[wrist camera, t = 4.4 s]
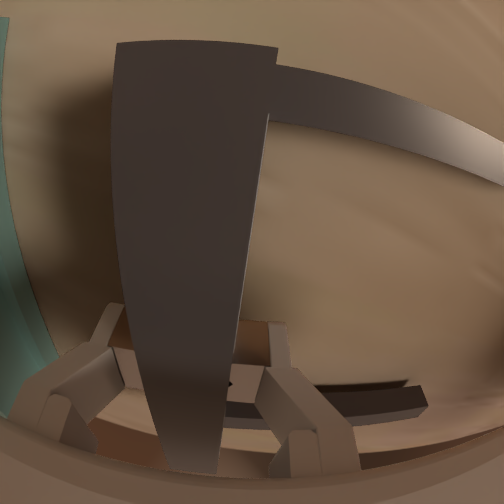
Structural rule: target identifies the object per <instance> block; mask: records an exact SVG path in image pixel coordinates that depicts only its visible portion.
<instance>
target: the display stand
mask: <svg viewBox="0 0 504 504" xmlns="http://www.w3.org/2000/svg"><path fill="white" fill-rule="evenodd" d="M8 23H9V18H6V17H0V416H2V417H4V418H6V419H7V417H8V415H9V413H10V410H11V408H12V406H13V404H14V401H15V399H16V397H17V395H18V393H19V390H20V388H21V386H22V384H23V382H24V380H26V379H27V378H29V377H31V376H32V375H34V374H35V373H37V372H38V371H40V370H41V369H43V368H44V367H46V366H47V365H49V364H50V363H52V362H53V361H55V360H56V359H58V358H59V355H58V353H57V351H56V349H55V347H54V345H53V342H52V340H51V338H50V335H49V333H48V331H47V328H46V326H45V323H44V321H43V318H42V316H41V313H40V311H39V308H38V305H37V303H36V300H35V297H34V294H33V291H32V288H31V285H30V282H29V279H28V276H27V272H26V269H25V266H24V262H23V259H22V255H21V251H20V248H19V244H18V240H17V235H16V231H15V227H14V222H13V217H12V212H11V207H10V201H9V195H8V189H7V182H6V175H5V166H4V156H3V144H2V124H1V91H2V72H3V60H4V50H5V43H6V35H7V29H8Z"/></svg>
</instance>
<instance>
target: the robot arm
mask: <svg viewBox="0 0 504 504" xmlns="http://www.w3.org/2000/svg"><path fill="white" fill-rule="evenodd" d="M125 387H130V388H135V389H141V390H144V388H143V384H142V380H141V376H140V373H139V369H138V364H137V360H136V356H135V352H134V347H133V343H132V338H131V333H130V329H129V323H128V318H127V313H126V307H125V305H123V304H118V303H113V302H110V303H109V304H108V305H107V306H106V308H105V310H104V312H103V314H102V316H101V318H100V320H99V322H98V324H97V326H96V328H95V330H94V332H93V334H92V337H91V339H90V341H89V342H85V341H84V342H83V343H81V344H80V345H78V346H76V347H75V348H73V349H72V350H70V351H69V352H67V353H66V354H64V355H63V356H61V357H59V358H58V359H56V360H55V361H53V362H52V363H50V364H49V365H47V366H46V367H44V368H43V369H41V370H40V371H38V372H37V373H35V374H34V375H32V376H31V377H29V378H27V379H26V380H24V382H23V384H22V386H21V388H20V390H19V393H18V395H17V397H16V399H15V401H14V404H13V406H12V408H11V410H10V413H9V415H8V417H7V419H6V418H4V417H2V416H0V504H504V427H502V428H500V429H497V430H495V431H493V432H491V433H488V434H486V435H484V436H481V437H479V438H476V439H474V440H471V441H469V442H467V443H464V444H461V445H458V446H455V447H453V448H450V449H447V450H444V451H441V452H437V453H434V454H431V455H428V456H424V457H421V458H417V459H413V460H409V461H405V462H402V463H397V464H393V465H388V466H384V467H379V468H374V469H368V470H362V471H361V466H360V462H359V456H358V451H357V446H356V441H355V437H354V432H353V427H352V425H351V424H350V423H349V422H348V421H347V420H346V419H345V418H344V417H343V416H342V415H341V414H340V413H339V412H338V411H337V410H336V409H335V408H334V407H333V406H332V405H331V404H330V403H329V401H328V400H327V399H326V398H325V397H324V396H323V395H322V394H321V393H320V392H319V391H318V390H317V389H316V388H315V387H314V386H313V385H312V383H311V382H310V381H309V380H308V379H307V378H306V377H305V376H304V375H303V374H302V373H301V372H300V371H299V369H298V368H292V363H291V356H290V348H289V341H288V333H287V326H286V324H285V322H269V321H267V322H266V321H254V320H242V319H239V321H238V327H237V334H236V341H235V348H234V353H233V358H232V365H231V372H230V379H229V386H228V393H227V400H226V401H234V402H245V403H255V404H254V405H255V406H256V408H257V410H258V411H259V413H260V414H261V416H262V417H263V419H264V420H265V422H266V423H267V425H268V426H269V428H270V429H271V431H272V432H273V434H274V435H275V436H276V438H277V439H278V441H279V442H280V444H281V445H282V446H281V447H280V449H279V450H278V452H277V454H276V455H275V457H274V458H273V460H272V461H271V463H270V464H269V479H253V478H250V479H249V478H229V477H215V476H203V475H193V474H186V473H179V472H172V471H166V470H160V469H155V468H150V467H144V466H140V465H135V464H131V463H127V462H122V461H118V460H114V459H111V458H107V457H104V456H100V455H97V454H96V450H97V445H98V440H97V438H96V437H95V435H94V434H93V433H92V432H91V430H90V429H89V427H88V426H87V424H88V423H89V422H90V421H91V420H92V419H93V418H94V417H95V416H96V415H97V414H98V413H99V412H100V411H102V410H103V409H104V408H105V407H106V406H107V405H108V404H109V403H110V402H111V401H112V400H113V399H114V398H115V397H116V396H117V395H118V394H119V393H120V392H121V391H122V390H123V389H125Z"/></svg>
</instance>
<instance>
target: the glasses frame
mask: <svg viewBox="0 0 504 504" xmlns="http://www.w3.org/2000/svg"><path fill="white" fill-rule="evenodd" d="M277 54H278V48H275V47H269V46H261V45H253V44H244V43H234V42H221V41H202V40H154V41H135V42H123V43H117V46H116V54H115V64H114V75H113V89H112V108H111V179H112V199H113V213H114V225H115V236H116V245H117V254H118V262H119V269H120V277H121V283H122V290H123V296H124V302H125V307H126V313H127V318H128V323H129V329H130V333H131V338H132V343H133V347H134V352H135V356H136V360H137V364H138V369H139V373H140V376H141V380H142V384H143V388H144V391H145V395H146V398H147V402H148V405H149V409H150V412H151V415H152V419H153V422H154V425H155V428H156V431H157V434H158V437H159V440H160V443H161V446H162V449H163V451H164V454H165V457H166V459H167V462H168V465H169V467H170V469H177V470H183V471H191V472H199V473H209V474H216V472H217V465H218V459H219V453H220V446H221V439H222V432H223V428H237V429H258V430H271V429H270V428H269V426H268V425H267V423H266V422H265V420H264V419H263V417H262V416H261V414H260V413H259V411H258V410H257V408H256V406H255V405H254V404H255V403H245V402H234V401H226V400H227V393H228V386H229V379H230V372H231V365H232V358H233V353H234V348H235V341H236V334H237V327H238V321H239V314H240V307H241V300H242V293H243V286H244V280H245V273H246V266H247V259H248V252H249V246H250V239H251V232H252V225H253V219H254V212H255V205H256V199H257V192H258V185H259V178H260V172H261V165H262V158H263V152H264V145H265V139H266V132H267V125H268V120H271V121H277V122H284V123H290V124H296V125H302V126H307V127H313V128H318V129H323V130H328V131H333V132H337V133H342V134H346V135H351V136H355V137H359V138H363V139H367V140H371V141H375V142H379V143H383V144H386V145H390V146H393V147H397V148H400V149H404V150H407V151H410V152H414V153H417V154H420V155H423V156H426V157H429V158H432V159H435V160H438V161H441V162H444V163H447V164H449V165H452V166H455V167H458V168H460V169H463V170H465V171H468V172H471V173H473V174H476V175H478V176H481V177H483V178H485V179H488V180H490V181H492V182H495V183H497V184H499V185H502V186H504V143H503V142H501V141H499V140H497V139H496V138H494V137H492V136H490V135H488V134H486V133H485V132H483V131H481V130H479V129H477V128H475V127H473V126H471V125H469V124H467V123H465V122H463V121H461V120H459V119H456V118H454V117H452V116H450V115H448V114H445V113H443V112H441V111H438V110H436V109H434V108H431V107H429V106H426V105H424V104H421V103H419V102H416V101H414V100H411V99H408V98H406V97H403V96H400V95H397V94H394V93H391V92H388V91H385V90H382V89H379V88H376V87H373V86H369V85H366V84H363V83H359V82H356V81H352V80H348V79H344V78H340V77H336V76H332V75H328V74H324V73H319V72H315V71H310V70H305V69H300V68H294V67H289V66H283V65H277V64H276V60H277ZM321 394H322V395H323V396H324V397H325V398H326V399H327V400H328V401H329V403H330V404H331V405H332V406H333V407H334V408H335V409H336V410H337V411H338V412H339V413H340V414H341V415H342V416H343V417H344V418H345V419H346V420H347V421H348V422H349V423H350V424H351V425H352V426H362V425H370V424H378V423H385V422H392V421H398V420H404V419H410V418H415V417H418V416H419V415H420V414H421V413H422V412H423V411H424V410H425V409H426V408H427V407H428V403H427V401H426V398H425V396H424V393H423V391H422V388H421V386H420V385H418V386H411V387H402V388H393V389H383V390H371V391H356V392H334V393H321Z"/></svg>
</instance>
